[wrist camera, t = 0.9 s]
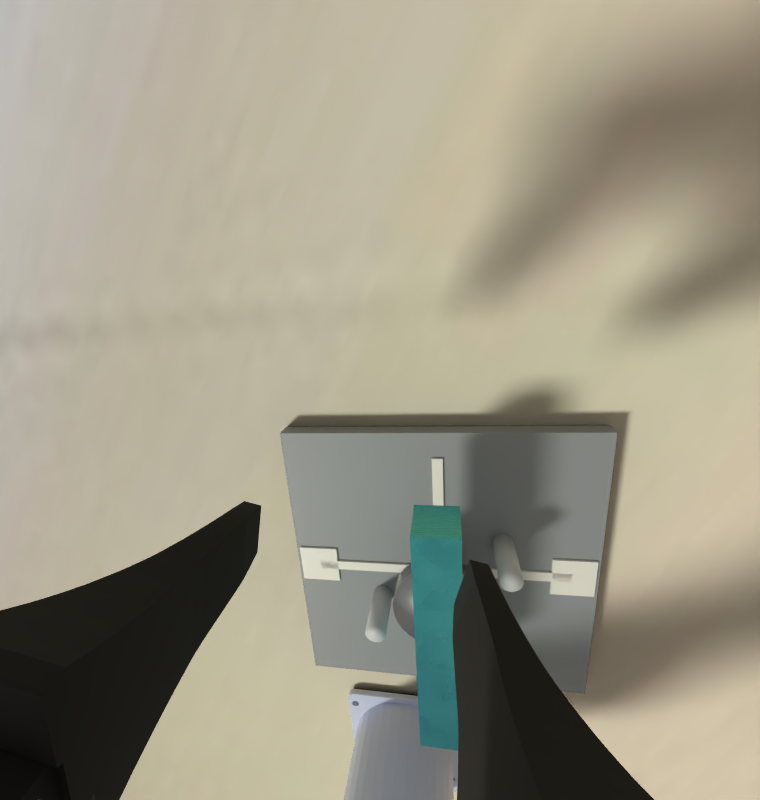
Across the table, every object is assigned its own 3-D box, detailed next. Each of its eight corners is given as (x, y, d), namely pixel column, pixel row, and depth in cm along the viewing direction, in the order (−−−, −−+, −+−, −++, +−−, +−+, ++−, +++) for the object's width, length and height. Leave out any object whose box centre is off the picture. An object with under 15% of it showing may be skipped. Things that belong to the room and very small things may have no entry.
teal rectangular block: (483, 683, 23) (490, 755, 20) (401, 674, 24) (394, 742, 21) (487, 493, 19) (496, 540, 16) (388, 491, 20) (377, 535, 17)
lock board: (579, 678, 26) (603, 747, 22) (320, 652, 29) (301, 709, 25) (609, 425, 20) (647, 459, 16) (286, 426, 23) (256, 456, 20)
